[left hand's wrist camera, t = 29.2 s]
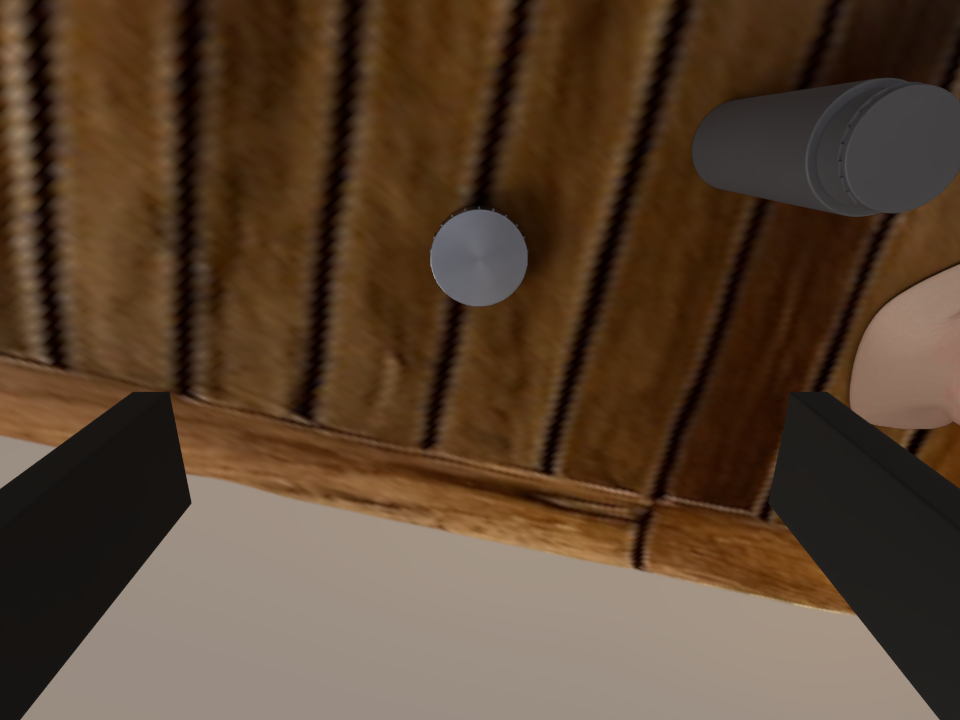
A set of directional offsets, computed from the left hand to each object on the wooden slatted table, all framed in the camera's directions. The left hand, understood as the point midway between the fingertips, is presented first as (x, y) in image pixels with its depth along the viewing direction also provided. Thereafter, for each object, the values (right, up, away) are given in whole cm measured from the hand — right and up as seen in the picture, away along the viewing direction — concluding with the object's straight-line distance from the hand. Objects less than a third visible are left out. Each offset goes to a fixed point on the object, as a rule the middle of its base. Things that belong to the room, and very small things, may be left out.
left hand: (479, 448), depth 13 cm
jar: (+15, +15, +22) cm, 31 cm away
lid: (0, +8, +23) cm, 24 cm away
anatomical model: (+31, +3, +27) cm, 41 cm away
